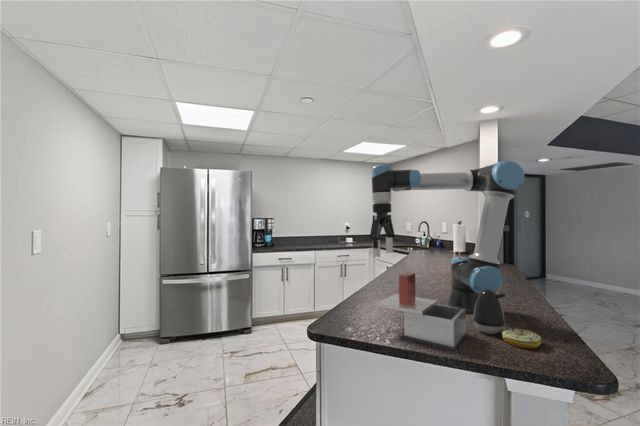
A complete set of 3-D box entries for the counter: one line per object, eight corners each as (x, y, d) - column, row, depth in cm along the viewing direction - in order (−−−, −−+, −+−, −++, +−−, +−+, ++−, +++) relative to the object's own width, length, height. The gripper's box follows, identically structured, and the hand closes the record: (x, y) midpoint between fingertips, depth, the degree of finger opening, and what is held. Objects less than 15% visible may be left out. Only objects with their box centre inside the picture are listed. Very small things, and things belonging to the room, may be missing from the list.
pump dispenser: (505, 339, 104) (505, 294, 104) (471, 333, 110) (471, 290, 110) (506, 330, 113) (505, 288, 113) (474, 324, 118) (474, 285, 118)
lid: (376, 306, 112) (376, 275, 112) (395, 296, 125) (395, 268, 125) (422, 315, 102) (421, 281, 102) (437, 303, 115) (437, 273, 115)
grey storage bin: (404, 338, 106) (404, 311, 106) (420, 324, 118) (420, 301, 118) (453, 350, 96) (453, 321, 96) (465, 334, 108) (465, 309, 109)
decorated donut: (507, 334, 109) (507, 324, 109) (544, 343, 101) (544, 332, 101) (498, 343, 102) (497, 331, 102) (537, 353, 94) (537, 341, 94)
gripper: (384, 204, 140) (386, 250, 139) (360, 203, 119) (361, 258, 119) (401, 203, 135) (402, 251, 135) (378, 202, 115) (379, 259, 114)
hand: (383, 254), depth 127 cm, fingers open, 13 cm apart
